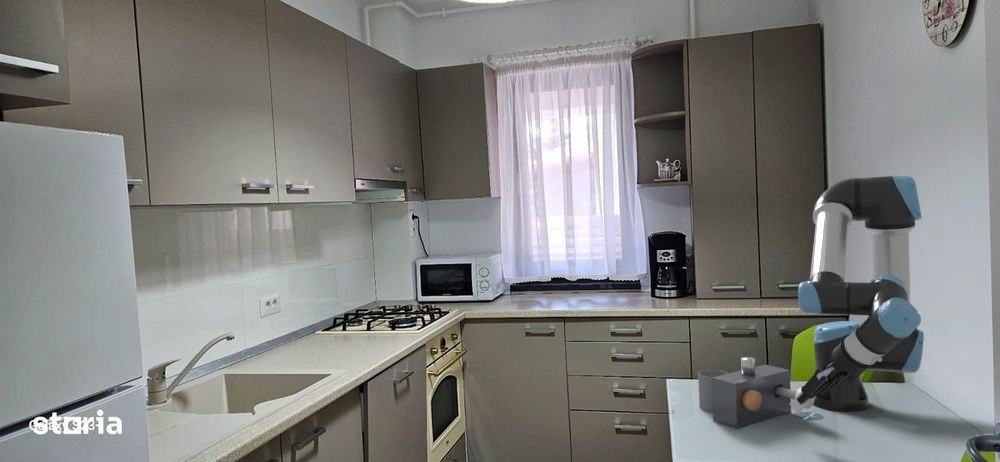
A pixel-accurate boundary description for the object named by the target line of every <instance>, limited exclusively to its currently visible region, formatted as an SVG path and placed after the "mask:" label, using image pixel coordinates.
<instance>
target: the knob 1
mask: <svg viewBox="0 0 1000 462" xmlns="http://www.w3.org/2000/svg"><path fill="white" fill-rule="evenodd" d="M742 403H743V406H744V407H745V408H746V409H749V410H752V411H756V410H758V409H759V408H760V406H761V403H762V396H761V394H760V393H759V392H758V391H754V390H751V389H749V390H747V391H746V392H745V393H744V395H743V398H742Z"/></svg>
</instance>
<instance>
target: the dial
mask: <svg viewBox="0 0 1000 462" xmlns="http://www.w3.org/2000/svg"><path fill="white" fill-rule="evenodd" d="M740 366H741V369H740V371H741V373H742V374H746V375H753V374H755V367H756V358H755V357H749V356H744V357H741V358H740Z"/></svg>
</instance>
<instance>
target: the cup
mask: <svg viewBox="0 0 1000 462" xmlns="http://www.w3.org/2000/svg"><path fill="white" fill-rule="evenodd" d="M725 374H729V372H726V371H725V370H717V369H706V370H700V371H698V373H697V375H698V377H697V378H698V400H699V401H698V403H699V409H700V410H702V411H705V412H709V413H713V402H712V377H716V376H721V375H725Z"/></svg>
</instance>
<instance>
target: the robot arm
mask: <svg viewBox="0 0 1000 462" xmlns="http://www.w3.org/2000/svg"><path fill="white" fill-rule="evenodd" d="M813 206H814V207H813V210H812V220H813V224H815V228H814V239H813V248H812V256H811V265H810V274H809V275H810V276H809V280H807V281H801V282H799V285H798V289H797V293H798V295H797V296H798V297H797V298H798V307H799V310H800V311H801V312H803V313H808V314H817V315H850V316H868V317H867V318H866V319H865V320H864V322H862V323H861V324H860V323H859V322H857V321H849V320H846V321H845V320H844V321H843V320H840V321H829V322H826V323H821V324H818V325H817V326H816V328H815V329H814V337H813V338H814V339H813V344H814V368H815V369H814V371H815V372H814V374H813V375H812V377H810V378H809V380H808V381H807V382H806V383H805V384H804V385H803V386H801V387H802V388H801V387H800V388H801V391H802V393H800V394H799V395H798V396H797V397H796V398H795V399H794V400H793V399H792V400H791V402H790V403H789V404H790V405H791V409H793V410H794V412H795V413H796V414H797V413H801V412H802V411H803V410H804V409H806V408H805V407H806V406H808V405H809V404H810V403H811V402H812V401H813V400H814V403H813V406H816V407H819V408H822V409H826V410H833V411H839V412H840V411H841V412H842V411H843V412H851V411H852V412H854V411H855V412H857V411H861V410H866V409H868V408H869V406H870V405H869V396H868V393H867V391H866V388H865V386H864V383H863V380H862V377H861V376H862V374H863V373H865V372H866V371H879V372H890V373H898V374H902V373H905V374H906V373H907V374H908V373H909V374H913V373H914V374H915V373H916V372H918V371H919V369H920V367H921V363H922V358H923V352H924V339H925V336H924V331H923V330H920V329H918V327H919V326H920V325H921V322H922V317H921V315H920V313H919V312H918V310H917V308H916V307H915V306H914V305H913V304H912V303H911V289H910V288H911V287H910V286H911V285H910V284H911V283H910V282H911V280H910V279H911V278H910V277H911V276H910V275H911V274H910V237H909V235H910V232H911V231H912V230H913V229H914V228H916V221H919V220H921V219H922V213H921V205H920V200H919V194H918V190H917V184H916V181H915V179H914V177H912V176H908V175H886V176H885V175H884V176H872V177H861V178H860V177H858V178H855V177H853V178H852V177H851V178H846V179H843V180H840V181H838V182H836V183H834V184H833V185H831V186H829V187H828V188H827V189H826V190H825V191H823V193H821V195H820V197H819V198H818V199H817V201H816V202H815V204H814V205H813ZM853 221H854V222H855V221H856V222H864V228H865V229H866V230H867V231H868V232H869V233H870V234H871V257H872V260H871V261H872V279H871V281H870V282H854V281H851V282H845V280H846V278H845V277H846V265H847V264H846V260H847V247H848V246H847V245H848V243H847V242H848V231H849V230H848V229H849V226H850V225H851V224H852V222H853Z"/></svg>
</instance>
